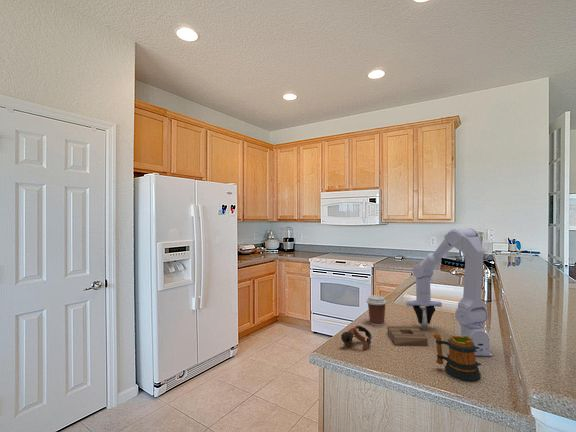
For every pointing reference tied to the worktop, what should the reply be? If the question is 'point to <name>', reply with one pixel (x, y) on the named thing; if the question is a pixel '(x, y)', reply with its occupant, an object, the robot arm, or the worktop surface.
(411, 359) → the worktop surface
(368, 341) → the brown curled shape
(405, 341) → the hole block
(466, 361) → the mug
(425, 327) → the peg
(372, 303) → the coffee cup
